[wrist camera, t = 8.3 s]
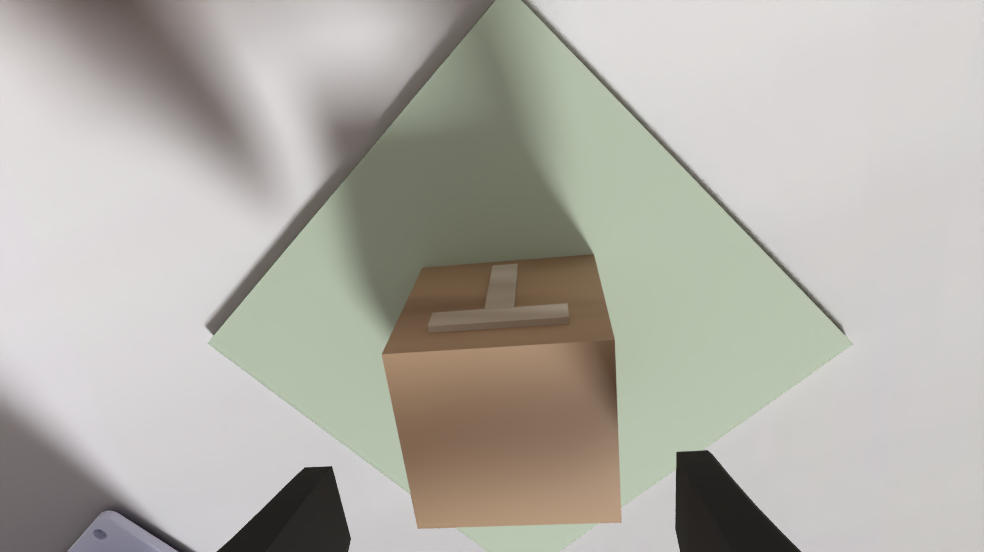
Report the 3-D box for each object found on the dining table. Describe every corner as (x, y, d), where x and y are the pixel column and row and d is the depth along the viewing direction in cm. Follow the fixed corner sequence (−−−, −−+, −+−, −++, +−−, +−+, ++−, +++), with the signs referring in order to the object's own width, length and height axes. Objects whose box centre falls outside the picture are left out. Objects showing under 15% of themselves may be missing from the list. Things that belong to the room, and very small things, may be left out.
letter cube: (601, 401, 19) (621, 522, 14) (445, 409, 19) (417, 528, 15) (593, 248, 17) (615, 333, 12) (421, 262, 17) (379, 347, 13)
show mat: (522, 568, 23) (522, 577, 22) (213, 337, 19) (207, 343, 19) (846, 337, 18) (853, 344, 18) (508, -14, 15) (507, -15, 14)
